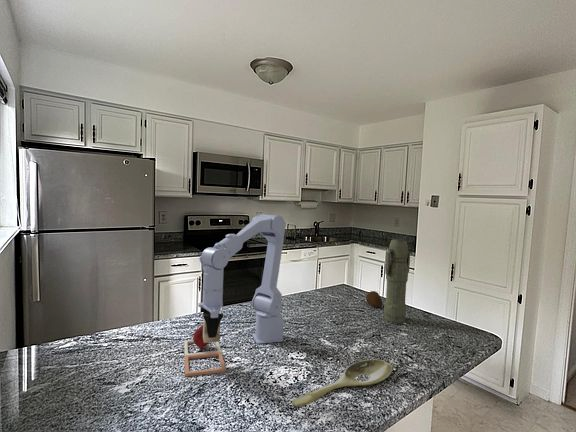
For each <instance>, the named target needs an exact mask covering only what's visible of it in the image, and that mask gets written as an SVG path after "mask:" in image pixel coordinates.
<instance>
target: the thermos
mask: <svg viewBox="0 0 576 432" xmlns="http://www.w3.org/2000/svg"><path fill="white" fill-rule="evenodd" d="M410 264H411V252H410V251H409V244H408V241H407V240H406V239H405V238H392V239H391V240H390V243H389V247H388V250H387V251H386V253H385V268H384V269H385V270H384V272H385V279H386V290H385V291H386V292H385V302H384V306H383V307H384V309H383V314H384V316H383V319H385V320H384V321H386V320H387V321H389V322H388V323H390V322H392V323H391V324H395V323H398V324H399V323H402V324H404V322H406V316H407V305H406V297H407V295H406V294H407V293H406V292H407V283H408V279H409V273H410ZM387 321H386V322H387ZM398 324H397V325H398ZM399 325H400V324H399Z"/></svg>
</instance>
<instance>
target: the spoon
mask: <svg viewBox="0 0 576 432" xmlns="http://www.w3.org/2000/svg"><path fill="white" fill-rule="evenodd" d="M392 371H393V367H392V365H391V364H390V363H389V362H388V361H386V360H383V359H377V358H376V359H374V358H373V359H364V360H359V361H357V362H354V363H351V364H350V365H349V366H347V367H346V368H345V369H344V370H343V372H342V374H341V375H340V376H339V378H338V379H337V380H336V381H334V382H332V383H330V384H327V385H325V386H322V387H320V388H317V389H315V390H312V391H310V392H307V393H305V394H303V395H301V396H298V397H297V398H295V399H293V400H292V402H291V404H292V406H293V407H303V406H305V405H308V404H310V403H313V402H314V401H316V400H318V399H320V398H321V397H323V396H324V395H327V394H328V393H329V392H332V391H334V390H335V389H339V388H343V387H344V388H345V387H366V386H372V385H376V384H380V383H381V382H384V380H387V378H389V377H390V376H391V374H392V373H393V372H392ZM362 375H364V376H365V375H366V376H368V377H369V378H368V379H367V380H365V381H362V380H361V381H360V380H357V379H356V377H357V376H362Z"/></svg>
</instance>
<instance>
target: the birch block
mask: <svg viewBox="0 0 576 432" xmlns="http://www.w3.org/2000/svg"><path fill="white" fill-rule="evenodd" d="M202 324H203V341H204V343H208V342H210V343H215V342H219V343H220V341H221V340H220V339H221V323H220V324H219V327H218V331H217V335H216V337H213V338H209V337H208V333H207V325H206V322H205V319H204V318H203V322H202Z"/></svg>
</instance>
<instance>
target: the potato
mask: <svg viewBox="0 0 576 432" xmlns="http://www.w3.org/2000/svg"><path fill="white" fill-rule="evenodd" d="M365 300H366V302H367V304H368V305H370V306H371V305H372V306H371V307H373V306H375V307H374V308H380V307H382V305H383V300H382V298H381V295H380V294H379V293H378V291H376V290H373V291H372V290H371V291H368V293H366V296H365Z"/></svg>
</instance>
